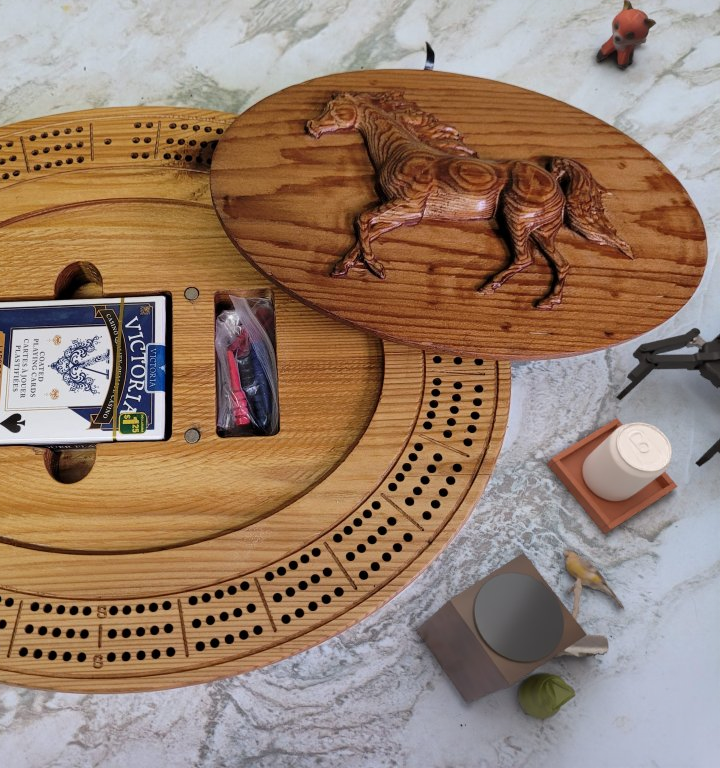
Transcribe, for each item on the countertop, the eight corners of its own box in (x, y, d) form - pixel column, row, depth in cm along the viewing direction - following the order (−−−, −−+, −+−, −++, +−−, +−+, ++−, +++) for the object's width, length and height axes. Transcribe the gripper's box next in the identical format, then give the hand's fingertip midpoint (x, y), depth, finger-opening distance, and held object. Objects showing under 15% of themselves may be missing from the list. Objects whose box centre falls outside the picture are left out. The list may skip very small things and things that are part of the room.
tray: (670, 491, 121) (678, 486, 119) (604, 534, 118) (610, 529, 116) (610, 423, 126) (617, 417, 124) (546, 463, 123) (551, 458, 121)
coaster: (580, 633, 93) (582, 632, 93) (511, 679, 92) (512, 679, 91) (523, 558, 97) (524, 556, 97) (455, 601, 95) (456, 600, 95)
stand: (531, 659, 111) (587, 634, 93) (466, 703, 109) (510, 686, 91) (480, 589, 116) (523, 552, 98) (416, 629, 114) (449, 599, 96)
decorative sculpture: (560, 549, 118) (578, 535, 111) (628, 579, 116) (651, 566, 109) (527, 655, 112) (545, 646, 105) (599, 688, 109) (621, 681, 103)
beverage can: (600, 511, 120) (636, 483, 109) (569, 462, 123) (601, 431, 112) (648, 490, 121) (688, 461, 110) (616, 443, 124) (651, 410, 113)
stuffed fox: (654, 52, 160) (684, -2, 149) (619, 81, 157) (647, 29, 146) (622, 32, 162) (649, -22, 152) (586, 61, 159) (611, 8, 149)
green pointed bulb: (535, 669, 111) (561, 658, 102) (563, 704, 109) (592, 696, 100) (503, 692, 110) (527, 684, 101) (531, 729, 107) (557, 723, 98)
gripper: (810, 410, 121) (723, 499, 116) (667, 301, 130) (580, 380, 125) (843, 387, 115) (752, 482, 109) (690, 275, 124) (600, 357, 118)
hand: (660, 427), depth 117 cm, fingers open, 13 cm apart
